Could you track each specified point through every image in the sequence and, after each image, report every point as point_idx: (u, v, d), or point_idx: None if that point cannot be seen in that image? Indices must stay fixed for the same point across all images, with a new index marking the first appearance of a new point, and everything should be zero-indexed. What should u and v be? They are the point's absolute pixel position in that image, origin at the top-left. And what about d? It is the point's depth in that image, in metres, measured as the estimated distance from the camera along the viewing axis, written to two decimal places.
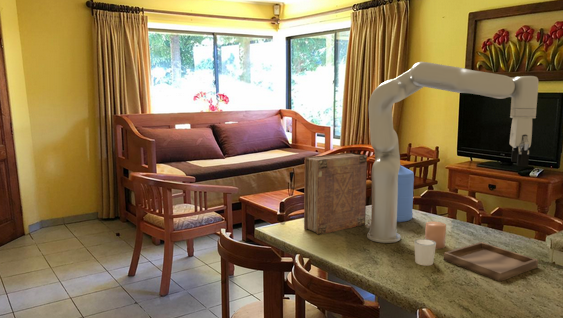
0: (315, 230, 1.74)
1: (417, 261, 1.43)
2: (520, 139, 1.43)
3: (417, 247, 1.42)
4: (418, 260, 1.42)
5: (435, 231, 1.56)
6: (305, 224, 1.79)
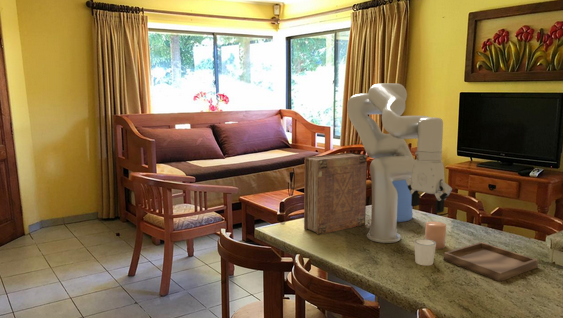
0: (315, 230, 1.74)
1: (417, 261, 1.43)
2: (438, 185, 1.35)
3: (417, 247, 1.42)
4: (418, 260, 1.42)
5: (435, 231, 1.56)
6: (305, 224, 1.79)
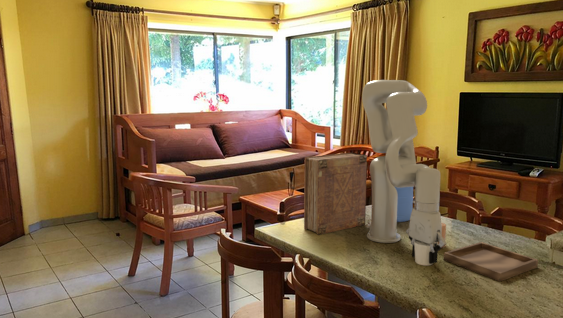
0: (315, 230, 1.74)
1: (417, 261, 1.43)
2: (435, 235, 1.38)
3: (417, 247, 1.42)
4: (418, 260, 1.42)
5: None
6: (305, 224, 1.79)
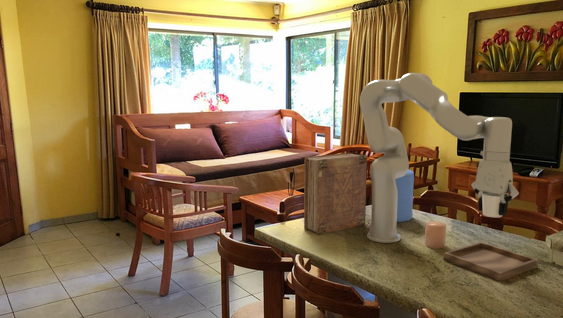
0: (315, 230, 1.74)
1: (485, 213, 1.39)
2: (507, 185, 1.34)
3: (486, 199, 1.38)
4: (487, 212, 1.38)
5: (435, 231, 1.56)
6: (305, 224, 1.79)
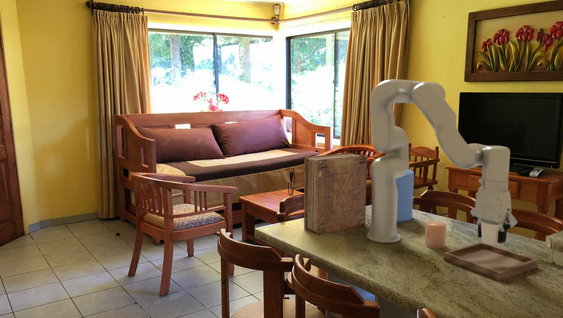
0: (315, 230, 1.74)
1: (485, 241, 1.40)
2: (506, 214, 1.35)
3: (485, 226, 1.39)
4: (486, 240, 1.40)
5: (435, 231, 1.56)
6: (305, 224, 1.79)
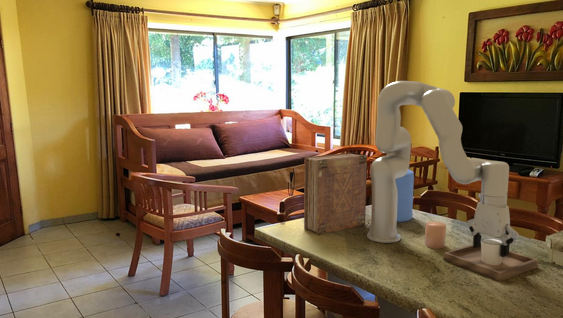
0: (315, 230, 1.74)
1: (484, 261, 1.41)
2: (504, 229, 1.36)
3: (485, 246, 1.40)
4: (485, 260, 1.40)
5: (435, 231, 1.56)
6: (305, 224, 1.79)
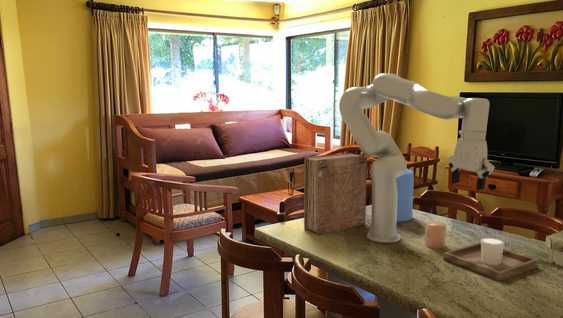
0: (315, 230, 1.74)
1: (484, 261, 1.41)
2: (481, 163, 1.41)
3: (485, 246, 1.40)
4: (485, 260, 1.40)
5: (435, 231, 1.56)
6: (305, 224, 1.79)
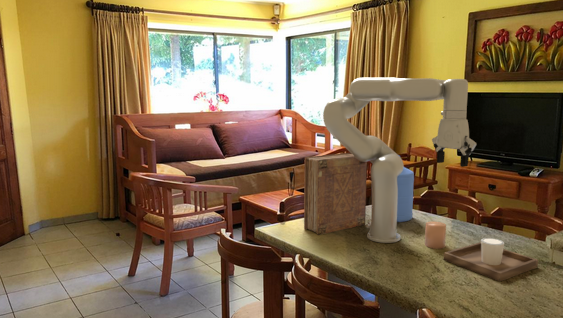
0: (315, 230, 1.74)
1: (484, 261, 1.41)
2: (463, 140, 1.47)
3: (485, 246, 1.39)
4: (486, 260, 1.40)
5: (435, 231, 1.56)
6: (305, 224, 1.79)
